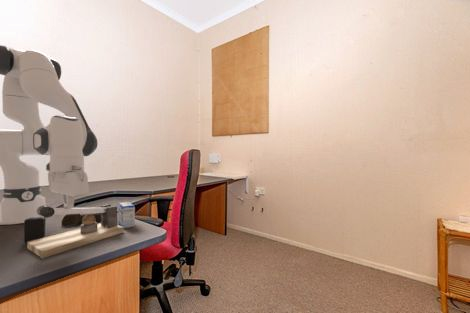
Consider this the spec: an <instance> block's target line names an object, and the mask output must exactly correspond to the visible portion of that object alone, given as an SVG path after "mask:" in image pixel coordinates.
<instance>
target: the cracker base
mask: <svg viewBox="0 0 470 313" xmlns="http://www.w3.org/2000/svg"><path fill="white" fill-rule="evenodd" d="M100 207H107V213H101V220H100V222H99V223H98V221H95V223H94V224H92V225H84V224H83V223H80V224H79V226H80V227H79V228H76V229H71V230H68V231H64V232H61V233H57V234H54V235H52V234H51V235H48V236H45V237H44V238H40V239H37V240H33V241H29V242H27V244H26V245H27V250H29V251H30V252H32V253H33V254H35V255H36V256H39V257H40V258H41V259H44V258H48V257H51V256H54V255H57V254H61V253H63V252H65V251H66V252H67V251H69V250H72V249H76V248H79V247H83V246H85V245H89V244H92V243H95V242H98V241H101V240H103V239H108V238H110V237H113V236H117V235H119V234H123V233H124V228H123V227H122V226H121V225H120V224H119V225H118V205H111V204H109V203H107V204H102V205H100Z"/></svg>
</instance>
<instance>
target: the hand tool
mask: <svg viewBox="0 0 470 313" xmlns="http://www.w3.org/2000/svg"><path fill="white" fill-rule="evenodd" d="M88 214H89V213H80V214H64V216H63V218H62V219H61V226H66V227H67V226H77V224H78V225H81V224H83V223H82V219H83V217H84V216H86V215H88ZM91 214H92V215H94V216H95V218H96V221H95V222H98V221H99V222H101V213H91Z"/></svg>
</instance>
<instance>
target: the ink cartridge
mask: <svg viewBox="0 0 470 313" xmlns="http://www.w3.org/2000/svg"><path fill="white" fill-rule="evenodd" d="M23 226H24V228H23V229H24V230H23V233H24V237H23V240H24V241H23V242H24V244H25V245H27V242H29V241H33V240H37V239H40V238H44V237H46V217H35V218H33V217H32V218H28V219H26V220H24V223H23Z"/></svg>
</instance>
